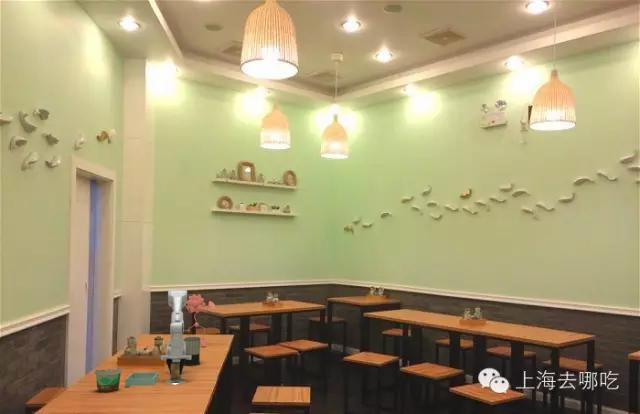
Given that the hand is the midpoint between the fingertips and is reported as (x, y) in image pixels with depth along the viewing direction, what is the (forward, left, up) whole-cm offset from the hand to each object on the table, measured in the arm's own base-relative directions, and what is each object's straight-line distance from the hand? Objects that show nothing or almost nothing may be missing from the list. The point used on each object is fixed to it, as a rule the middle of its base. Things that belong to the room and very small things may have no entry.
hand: (175, 374), depth 279 cm
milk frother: (-41, -1, -5) cm, 41 cm away
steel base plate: (0, 0, -4) cm, 4 cm away
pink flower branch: (-92, -3, -5) cm, 92 cm away
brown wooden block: (0, 0, -2) cm, 2 cm away
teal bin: (0, -16, -4) cm, 17 cm away
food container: (+13, -29, -5) cm, 32 cm away
